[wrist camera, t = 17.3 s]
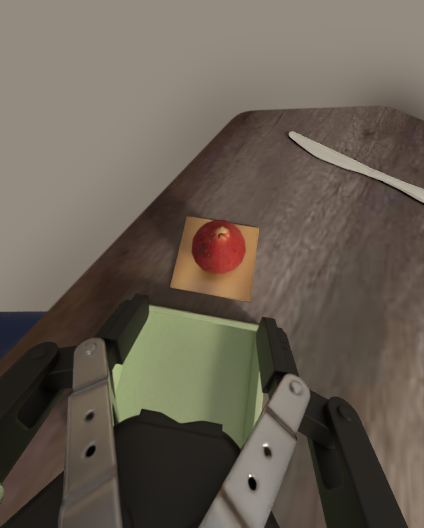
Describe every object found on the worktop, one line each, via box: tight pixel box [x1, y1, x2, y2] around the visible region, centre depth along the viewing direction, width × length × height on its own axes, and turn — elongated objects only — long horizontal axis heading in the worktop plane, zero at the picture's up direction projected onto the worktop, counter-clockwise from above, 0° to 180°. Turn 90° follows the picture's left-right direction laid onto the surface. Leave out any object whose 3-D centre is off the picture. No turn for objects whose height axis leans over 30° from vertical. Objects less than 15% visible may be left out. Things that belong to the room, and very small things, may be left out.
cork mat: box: [170, 216, 259, 302], centre depth 23 cm, size 10×10×1 cm
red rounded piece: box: [191, 220, 246, 274], centre depth 19 cm, size 6×6×8 cm
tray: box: [112, 304, 263, 448], centre depth 18 cm, size 15×15×3 cm
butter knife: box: [289, 131, 424, 203], centre depth 27 cm, size 1×27×3 cm
